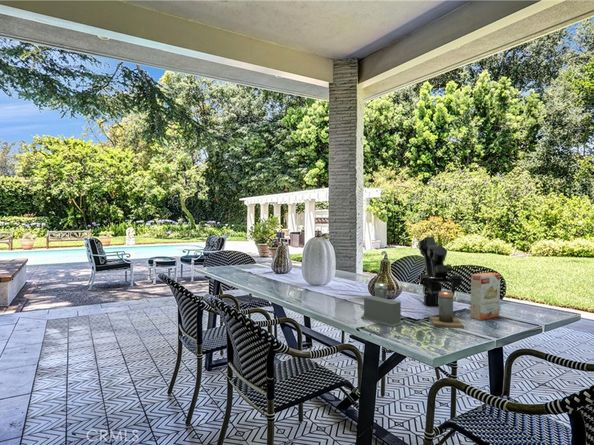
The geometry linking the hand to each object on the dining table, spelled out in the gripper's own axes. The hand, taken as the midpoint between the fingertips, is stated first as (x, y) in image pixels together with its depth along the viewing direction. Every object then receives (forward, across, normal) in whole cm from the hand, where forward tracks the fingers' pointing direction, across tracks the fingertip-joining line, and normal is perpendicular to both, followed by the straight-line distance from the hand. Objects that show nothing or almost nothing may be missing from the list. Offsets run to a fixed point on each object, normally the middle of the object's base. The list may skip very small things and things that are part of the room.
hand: (443, 295), depth 174 cm
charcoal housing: (+13, -28, +3) cm, 31 cm away
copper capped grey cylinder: (+12, 0, +3) cm, 12 cm away
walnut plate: (+12, 0, +4) cm, 13 cm away
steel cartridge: (-2, -27, +18) cm, 33 cm away
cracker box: (+4, +21, +13) cm, 25 cm away
